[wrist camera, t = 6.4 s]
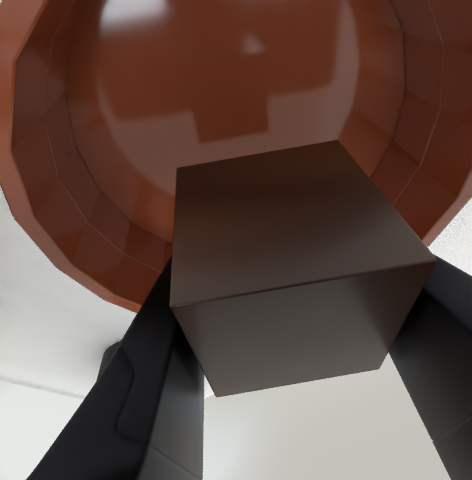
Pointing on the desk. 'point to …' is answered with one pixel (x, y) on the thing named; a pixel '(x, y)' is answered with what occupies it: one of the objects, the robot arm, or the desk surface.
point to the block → (290, 267)
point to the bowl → (219, 113)
